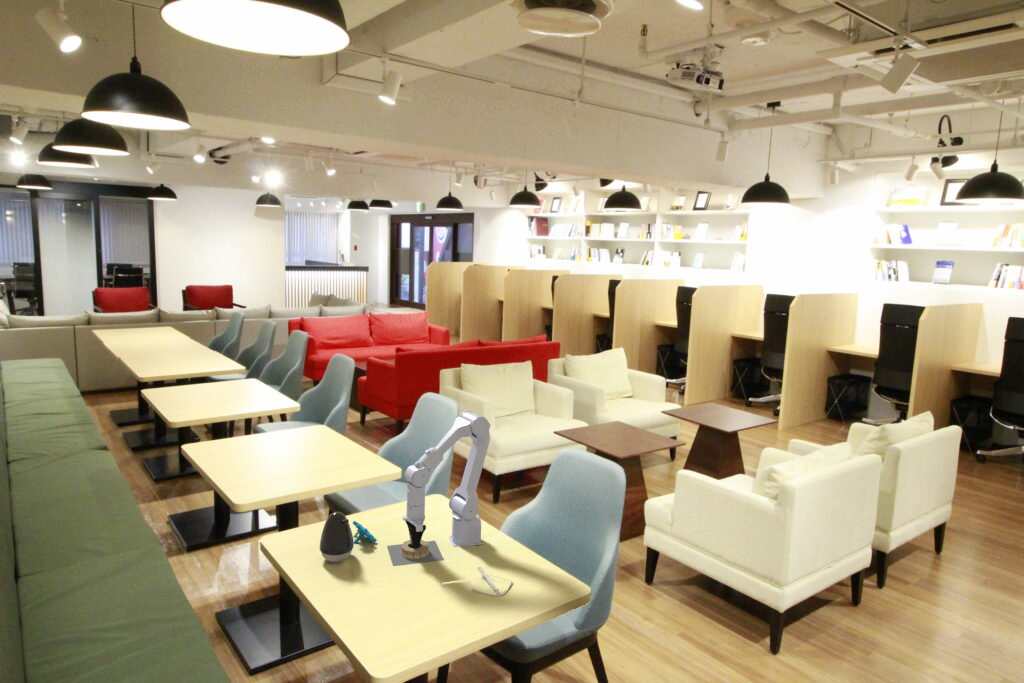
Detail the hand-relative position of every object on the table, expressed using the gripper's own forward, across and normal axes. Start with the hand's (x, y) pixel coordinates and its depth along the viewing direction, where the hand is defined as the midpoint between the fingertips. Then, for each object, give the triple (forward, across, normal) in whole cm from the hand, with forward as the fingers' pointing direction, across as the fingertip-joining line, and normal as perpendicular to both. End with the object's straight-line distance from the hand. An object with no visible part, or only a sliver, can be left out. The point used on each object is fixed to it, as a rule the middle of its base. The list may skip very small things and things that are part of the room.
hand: (415, 543), depth 208 cm
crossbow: (+4, +23, +18) cm, 30 cm away
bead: (+3, 0, 0) cm, 3 cm away
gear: (+4, -13, -15) cm, 20 cm away
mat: (+4, 0, 0) cm, 4 cm away
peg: (+2, 0, 0) cm, 2 cm away
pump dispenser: (+4, -3, -24) cm, 24 cm away
